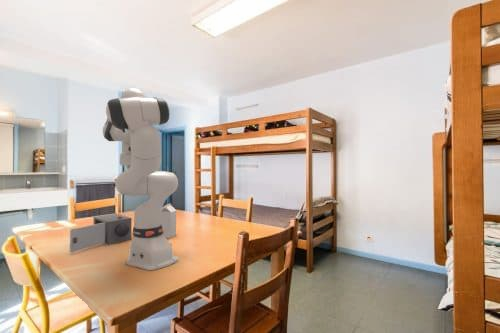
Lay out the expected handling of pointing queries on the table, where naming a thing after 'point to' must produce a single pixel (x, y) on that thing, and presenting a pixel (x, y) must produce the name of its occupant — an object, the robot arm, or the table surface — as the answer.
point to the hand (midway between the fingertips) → (130, 173)
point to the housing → (115, 227)
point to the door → (88, 236)
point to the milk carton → (168, 221)
